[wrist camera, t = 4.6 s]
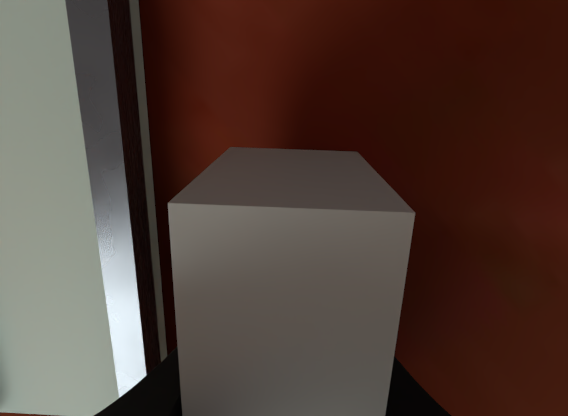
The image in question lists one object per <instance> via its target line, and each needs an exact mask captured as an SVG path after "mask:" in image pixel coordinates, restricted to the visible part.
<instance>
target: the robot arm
mask: <svg viewBox="0 0 568 416" xmlns="http://www.w3.org/2000/svg"><path fill="white" fill-rule="evenodd" d="M94 416H182V403H181V389H180V374H179V360H178V346H177V347H176V348H175V349H174V350H173V351H172V352H171V353H170V354H169V355H168V356H167V357H166V358H165V359H164V360H163V361H162V362H161V363H160V364H159V365H157V366H156V367H155V368H154V369H153V370H152V371H151V372H150V373H149V374H147V375H146V376H145V377H144V378H143V379H142V380H141V381H140V382H138V383H137V384H136V385H135V386H134V387H132V388H131V389H130V390H129V391H127V392H126V393H125V394H124V395H122V396H121V397H120V398H118V399H117V400H116V401H114V402H113V403H112V404H110V405H109V406H107V407H106V408H105V409H103V410H102V411H100V412H99V413H97V414H95V415H94ZM385 416H451V415H450V414H449V413H448V412H447V411H445V410H444V409H443V408H442V407H441V406H440V405H439V404H438V403H437V402H436V401H435V400H434V399H433V398H432V397H431V396H430V395H429V394H428V393H427V392H426V391H425V390H424V389H423V388H422V387H421V386H420V385H419V384H418V383H417V382H416V381H415V379H414V378H413V377H412V376H411V375H410V374H409V373H408V372H407V370H406V369H405V368H404V367H403V366H402V365H401V363H400V362H399V361H398V360H397V359H396V357H395V356H394V360H393V367H392V373H391V380H390V387H389V394H388V400H387V407H386V414H385Z"/></svg>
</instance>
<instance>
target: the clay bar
mask: <svg viewBox="0 0 568 416" xmlns="http://www.w3.org/2000/svg"><path fill="white" fill-rule="evenodd" d="M168 215H169V230H170V244H171V259H172V273H173V288H174V302H175V317H176V331H177V345H178V360H179V374H180V389H181V403H182V416H385V414H386V407H387V400H388V394H389V387H390V380H391V373H392V367H393V360H394V353H395V346H396V340H397V333H398V326H399V320H400V313H401V306H402V299H403V293H404V286H405V279H406V272H407V266H408V259H409V252H410V245H411V239H412V232H413V225H414V218H415V212H414V211H413V210H412V209H411V208H410V207H409V206H408V205H407V204H406V202H405V201H404V200H403V199H402V198H401V197H400V196H399V195H398V194H397V193H396V192H395V191H394V190H393V189H392V188H391V187H390V186H389V185H388V184H387V182H386V181H385V180H384V179H383V178H382V177H381V176H380V175H379V174H378V173H377V172H376V171H375V170H374V169H373V168H372V167H371V166H370V165H369V164H368V163H367V161H366V160H365V159H364V158H363V157H362V156H361V155H360V154H359V153H358V152H353V151H326V150H298V149H270V148H243V147H230V148H229V149H228V150H227V151H225V152H224V153H223V154H222V155H221V156H220V157H219V158H218V159H216V160H215V161H214V162H213V163H212V164H211V165H210V166H209V167H207V168H206V169H205V170H204V171H203V172H202V173H201V174H200V175H199V176H197V177H196V178H195V179H194V180H193V181H192V182H191V183H190V184H188V185H187V186H186V187H185V188H184V189H183V190H182V191H181V192H179V193H178V194H177V195H176V196H175V197H174V198H173V199H172V200H170V201H169V202H168Z"/></svg>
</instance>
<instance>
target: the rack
mask: <svg viewBox="0 0 568 416" xmlns="http://www.w3.org/2000/svg"><path fill="white" fill-rule="evenodd" d="M166 357H167V347H166V335H165V322H164V310H163V298H162V285H161V273H160V261H159V248H158V236H157V224H156V211H155V199H154V186H153V174H152V162H151V149H150V137H149V125H148V112H147V100H146V87H145V75H144V63H143V50H142V38H141V26H140V13H139V1H138V0H0V412H7V413H26V414H45V415H63V416H94V415H95V414H97V413H99V412H100V411H102V410H103V409H105V408H106V407H107V406H109V405H110V404H112V403H113V402H114V401H116V400H117V399H118V398H120V397H121V396H122V395H124V394H125V393H126V392H127V391H129V390H130V389H131V388H132V387H134V386H135V385H136V384H137V383H138V382H140V381H141V380H142V379H143V378H144V377H145V376H146V375H147V374H149V373H150V372H151V371H152V370H153V369H154V368H155V367H156V366H157V365H159V364H160V363H161V362H162V361H163V360H164V359H165V358H166Z"/></svg>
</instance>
